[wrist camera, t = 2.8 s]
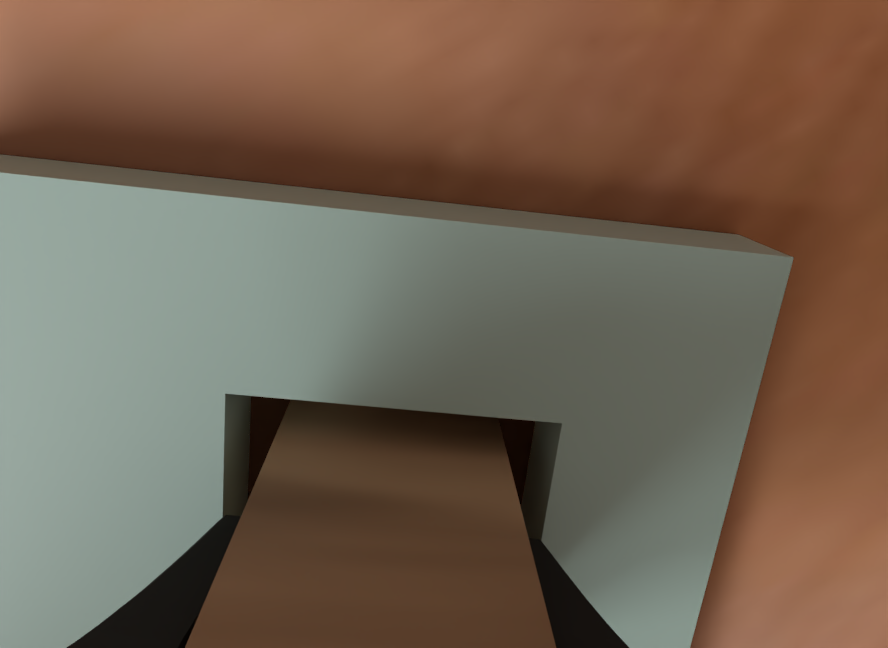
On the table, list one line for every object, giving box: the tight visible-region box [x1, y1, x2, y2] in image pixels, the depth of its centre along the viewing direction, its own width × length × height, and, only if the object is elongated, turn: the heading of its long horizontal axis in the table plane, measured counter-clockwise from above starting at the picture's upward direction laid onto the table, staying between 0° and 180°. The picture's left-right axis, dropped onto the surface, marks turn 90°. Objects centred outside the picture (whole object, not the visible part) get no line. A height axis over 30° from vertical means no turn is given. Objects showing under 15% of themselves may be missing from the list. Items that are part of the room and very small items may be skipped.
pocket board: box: [0, 154, 794, 648], centre depth 14 cm, size 16×14×2 cm
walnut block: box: [185, 399, 556, 648], centre depth 11 cm, size 4×4×7 cm
